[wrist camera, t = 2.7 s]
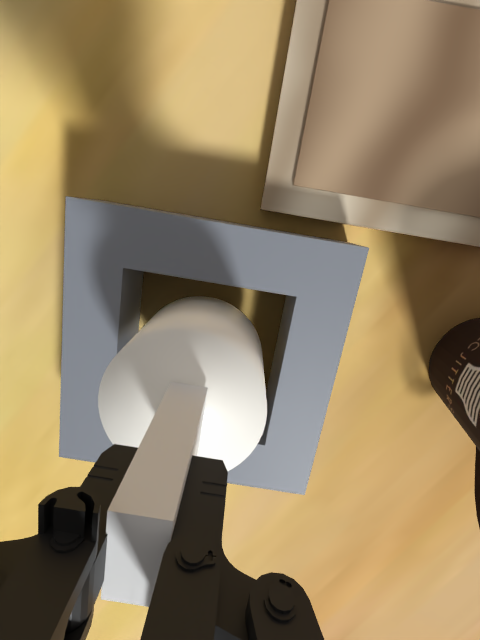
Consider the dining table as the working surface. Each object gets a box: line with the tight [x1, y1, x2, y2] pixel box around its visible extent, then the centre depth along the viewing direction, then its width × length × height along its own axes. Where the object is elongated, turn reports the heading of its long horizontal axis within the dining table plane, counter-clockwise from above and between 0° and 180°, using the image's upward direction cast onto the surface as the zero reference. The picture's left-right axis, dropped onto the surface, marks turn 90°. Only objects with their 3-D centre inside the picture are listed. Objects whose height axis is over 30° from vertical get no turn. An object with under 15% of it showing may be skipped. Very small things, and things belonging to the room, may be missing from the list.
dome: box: [98, 296, 267, 471], centre depth 18 cm, size 7×7×6 cm
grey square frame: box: [59, 196, 369, 495], centre depth 22 cm, size 15×15×4 cm
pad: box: [260, 0, 480, 247], centre depth 19 cm, size 14×12×2 cm
